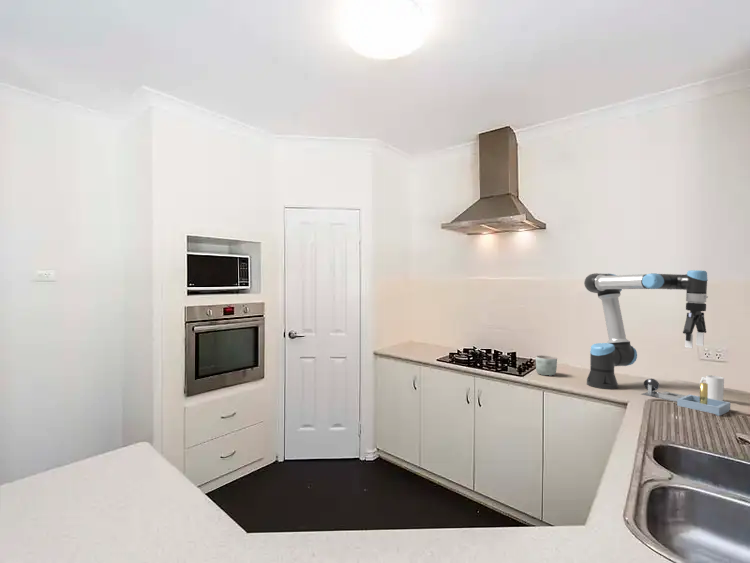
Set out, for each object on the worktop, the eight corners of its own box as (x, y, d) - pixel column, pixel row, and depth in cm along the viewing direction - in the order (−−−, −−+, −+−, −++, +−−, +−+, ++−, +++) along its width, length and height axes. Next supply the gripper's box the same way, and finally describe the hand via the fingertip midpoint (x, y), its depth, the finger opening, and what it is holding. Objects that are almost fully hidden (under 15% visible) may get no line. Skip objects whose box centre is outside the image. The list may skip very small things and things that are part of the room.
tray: (677, 406, 182) (677, 398, 182) (689, 401, 191) (689, 394, 191) (719, 416, 170) (719, 407, 170) (730, 410, 178) (730, 402, 178)
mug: (727, 402, 191) (727, 378, 191) (718, 403, 189) (718, 378, 189) (703, 397, 200) (704, 373, 201) (695, 397, 198) (695, 374, 198)
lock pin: (698, 406, 181) (698, 383, 181) (700, 405, 182) (701, 382, 182) (706, 408, 178) (706, 384, 178) (708, 407, 180) (708, 383, 180)
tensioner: (640, 395, 201) (640, 378, 201) (648, 392, 206) (649, 376, 207) (680, 404, 187) (680, 386, 187) (688, 400, 192) (688, 383, 193)
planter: (554, 373, 250) (554, 356, 250) (558, 377, 238) (559, 359, 238) (533, 371, 253) (534, 354, 253) (537, 375, 241) (537, 358, 241)
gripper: (695, 303, 177) (693, 350, 177) (715, 302, 191) (713, 346, 191) (675, 302, 183) (674, 347, 184) (696, 301, 197) (694, 343, 197)
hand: (694, 346), depth 187 cm, fingers open, 13 cm apart
